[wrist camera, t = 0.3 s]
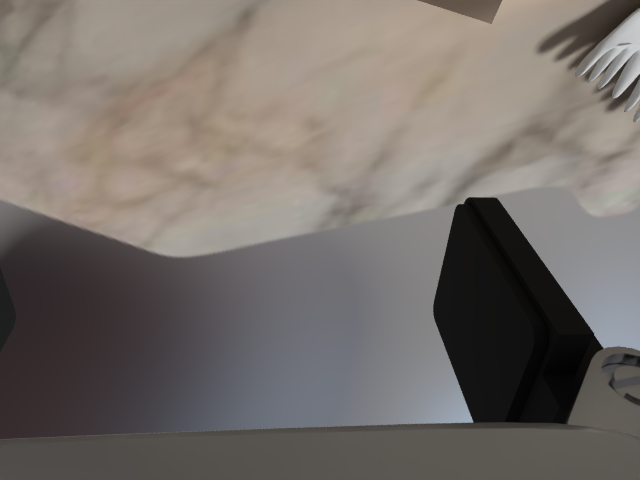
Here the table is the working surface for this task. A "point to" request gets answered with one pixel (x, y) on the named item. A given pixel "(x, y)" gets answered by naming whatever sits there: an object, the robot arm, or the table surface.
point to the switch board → (470, 7)
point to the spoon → (618, 59)
